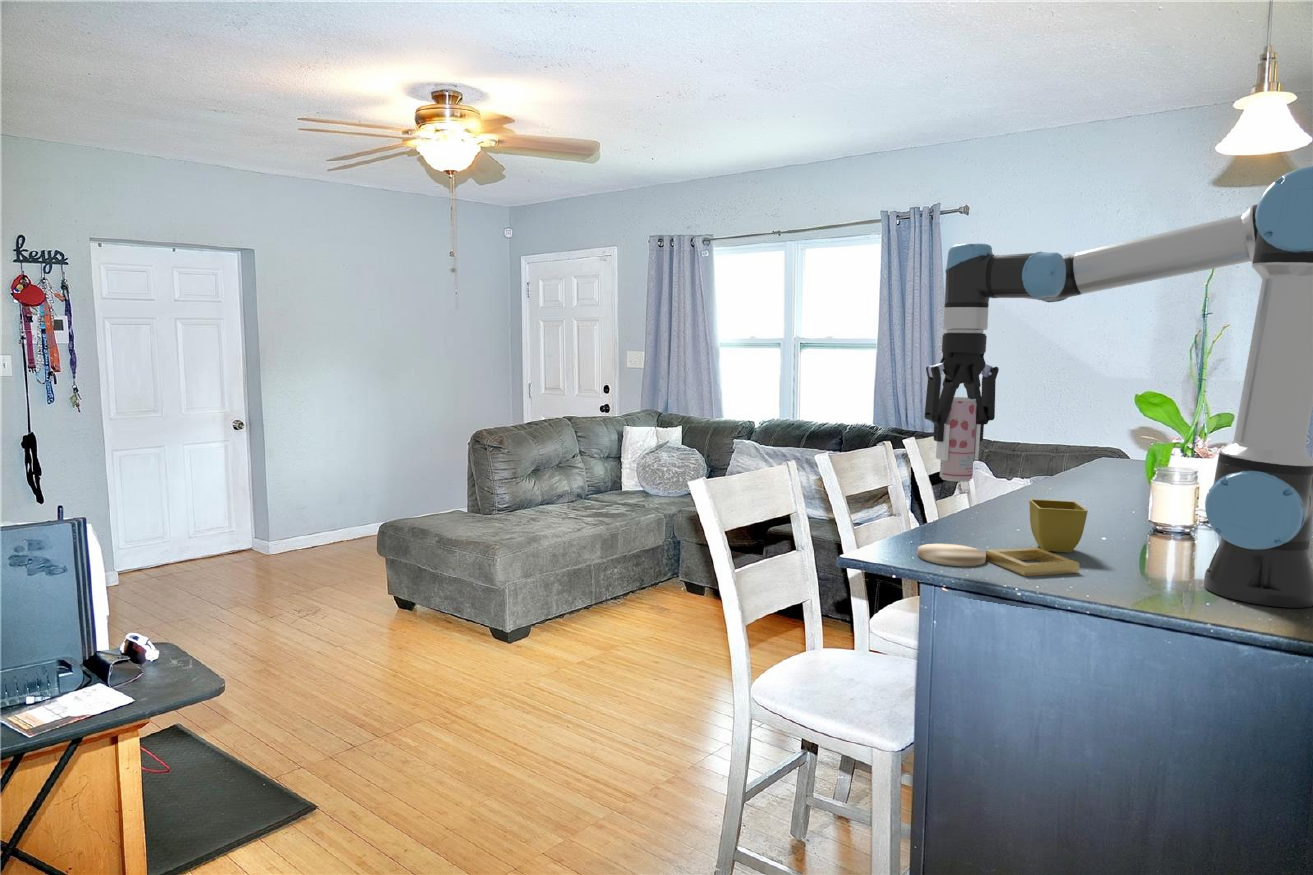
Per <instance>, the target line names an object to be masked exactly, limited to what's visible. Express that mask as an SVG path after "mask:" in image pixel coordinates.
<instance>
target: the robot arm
mask: <svg viewBox="0 0 1313 875" xmlns="http://www.w3.org/2000/svg"><path fill="white" fill-rule="evenodd" d="M1248 262H1251V268H1252V269H1253V270H1254V271H1255V272H1256V273H1257V274H1258V275H1259V276H1260V278H1261V283H1260V284H1261V285H1260V290H1259V296H1258V299H1257V300H1258V301H1257V305H1256V314H1255V319H1254V322H1253V323H1254V324H1253V328H1252V335H1251V340H1250V341H1251V342H1250V346H1249V351H1248V358H1247V363H1246V369H1245V373H1244V374H1245V375H1244V379H1243V380H1244V381H1243V384H1242V391H1241V397H1240V403H1239V407H1238V409H1239V410H1238V413H1237V414H1238V415H1237V418H1236V419H1237V420H1236V425H1235V430H1234V431H1235V432H1234V436H1233V440H1232V441H1231V442H1230V443H1228V444H1226V445H1225V446H1223V447H1221V448H1220V449H1219V452H1218V459H1217V463H1216V468H1215V474H1214V479H1213V484H1212V486H1211V487H1210V489H1209V490H1208V492H1207V494H1206V497H1205V502H1204V508H1205V515H1206V519H1207V521H1208V523H1209V525H1210V526H1211V528H1212V530H1213V531H1214V532H1215V533H1216V534H1217V535H1218V536H1219V537H1220V542H1219V544H1218V546H1217V549H1216V550H1215V553H1214V554H1213V556H1212V558H1211V561H1210V563H1209V566H1208V568H1207V569H1206V570H1205V573H1204V579H1203V587H1204V588H1205V589H1206V590H1208V591H1209V592H1211V593H1214V594H1216V595H1218V596H1221V597H1225V598H1228V599H1230V600H1231V599H1232V600H1235V601H1240V602H1243V603H1244V602H1245V603H1249V604H1255V605H1262V606H1269V607H1276V608H1277V607H1279V608H1291V609H1292V608H1293V609H1294V608H1299V609H1301V608H1309V607H1313V566H1312V561H1311V558H1310V555H1309V554H1310V543H1311V542H1310V541H1311V532H1312V525H1313V524H1312V523H1313V458H1312V457H1311V456H1310V454H1309V453H1308V452H1307V450H1306V446H1307V445H1306V444H1307V439H1308V433H1309V429H1310V423H1311V419H1312V418H1311V417H1312V414H1313V165H1310V166H1304V167H1300V168H1297V169H1294V170H1292V171H1290V172H1287V173H1285V174H1284V175H1282V176H1280V177H1278V178H1277V179H1276V180H1275V181H1274V182H1272V183H1271V184H1270V185H1269V186H1268V187H1267V188H1266V189H1265V191H1264V192H1263V194H1262V196H1261V197H1260V198H1259V201H1258V203H1257V204H1254V205H1250V207H1249V208H1248V209H1247V210H1246V211H1245V212H1244V213H1243V214H1238V215H1234V216H1231V217H1226V218H1222V219H1217V220H1212V221H1209V222H1204V223H1200V224H1195V225H1192V226H1187V227H1183V228H1177V229H1174V230H1170V231H1166V232H1161V233H1156V234H1153V235H1147V236H1143V237H1139V238H1135V239H1130V240H1125V241H1122V242H1117V243H1112V244H1108V245H1104V246H1101V247H1100V246H1099V247H1095V248H1092V249H1086V250H1082V251H1078V252H1074V253H1071V254H1065V255H1062V254H1061V253H1059V252H1047V251H1046V252H1043V251H1036V252H1030V253H1027V252H1026V253H1012V254H994V253H993V247H992V246H991V244H987V243H961V244H954V245H952V246H951V247H950V248H949V249H948V253H947V260H946V267H945V270H944V271H945V287H944V291H945V292H944V308H943V309H944V311H943V327H942V328H943V330H945V331H946V332H944V333H943V334H942V339H941V340H942V341H941V353H942V358H941V360H940V361H939V363H937V364H934V365H926V367H925V370H926V376H927V386H926V397H925V406H924V407H925V408H924V415H923V416H924V419H925V420H927V421H930V422H931V423H933V441H934V442H936V447H935V448H936V450H935V459H937V460H940V461H941V460H944V461H947V460H948V449H949V432H950V425H948V424H945V423H946V421H947V418H948V414H949V411H950V408H951V405H952V402H953V399H954V397H956V396H955V395H956V392H957V389H959V388H960V386H961V385H960V384H963V387H964V388H965V391H966V395H967V398H970V399H976V404H977V409H976V426H975V443H974V460H973V461H978V460H979V457H980V456H979V455H980V442H983V441H984V440H983V439H984V429H985V425H988V423H989V421H990V422H991V421H994V420H995V418H996V417H995V416H996V385H997V384H996V381H997V376H998V373H999V370H1000V369H999V367H998V366H993V365H989V364H987V363H986V360H985V358H984V357H985V353H986V351H987V338H988V337H987V335H986V333H984V332H985V331H987V330H988V326H989V325H988V324H989V323H988V322H989V308H990V307H989V304H990V303H989V301H990V299H1030V300H1037V301H1042V302H1046V303H1057V302H1061V301H1064V300H1067V299H1069V298H1071V297H1076V296H1080V295H1085V294H1089V293H1095V292H1101V291H1106V290H1110V289H1111V290H1112V289H1116V288H1121V287H1126V286H1131V285H1137V284H1141V283H1142V284H1143V283H1147V282H1152V281H1156V280H1161V279H1167V278H1173V277H1177V276H1182V275H1188V274H1192V273H1198V272H1203V271H1208V270H1213V269H1218V268H1223V267H1228V266H1234V265H1240V264H1243V263H1248ZM943 374H944V375H945V376H944V379H943V382H942V375H943ZM980 374H981V375H982V377H981V380H980ZM941 384H942V386H941ZM941 387H942V390H941Z"/></svg>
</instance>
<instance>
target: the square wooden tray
mask: <svg viewBox="0 0 1313 875" xmlns="http://www.w3.org/2000/svg"><path fill="white" fill-rule="evenodd" d="M985 554H986V562H987V561H988V562H989V563H992V564H995V565H997V566H999V567H1002V568H1004V569H1006V570H1009V571H1011V572H1013V573H1016V574H1018V575H1021V576H1023V577H1028V576H1029V577H1032V576H1049V575H1064V574H1065V575H1067V574H1079V572H1080V571H1079V570H1080V562H1078V561H1076V560H1072V559H1070V558H1067V557H1064V556H1061V555H1059V554H1056V553H1054V552H1052V551H1045V550H1042V549H1041V548H1040V547H1023V548H1001V549H986V550H985ZM1030 560H1032V561H1033V560H1036V561H1038V562H1024V561H1030Z"/></svg>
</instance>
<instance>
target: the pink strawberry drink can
mask: <svg viewBox="0 0 1313 875" xmlns="http://www.w3.org/2000/svg"><path fill="white" fill-rule="evenodd" d="M976 409H977V404H976V399H970V398H968V397H964V396H961V397H960V396H959V397H958V396H954V399H953V402H952V405H951V408H950V411H949V414H948V418H947V421H946V423H945V424H948V425H950V432H949V449H948V460H947V461H944V460H940V465H939V466H940V468H939V478H941V480H943V481H946V482H947V481H948V482H949V481H950V482H957V483H959V482H960V483H962V482H963V483H965V482H970V481H971V480H973V475H974V474H973V473H974V461H975V460H974V443H975V426H976Z"/></svg>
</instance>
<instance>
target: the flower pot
mask: <svg viewBox="0 0 1313 875" xmlns="http://www.w3.org/2000/svg"><path fill="white" fill-rule="evenodd" d="M1028 501H1029V523H1030V529H1031V532H1032V535H1033V537H1034V540H1035V542H1036V544H1037V546H1039V548H1040V549H1042V550H1045V551H1048V552H1058V553H1072V552H1073V551H1074V549H1075V548H1076V547H1077V546H1078V545H1079V543H1080V541H1081V539H1082V536H1083V533H1084V529H1085V524H1086V520H1087V517H1088V516H1087V515H1088V509H1086V507H1084V506H1082V505H1081V504H1079V503H1078V502H1077V501H1069V500H1055V499H1054V500H1052V499H1051V500H1050V499H1033V498H1032V499H1031V498H1030V499H1029V500H1028Z"/></svg>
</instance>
